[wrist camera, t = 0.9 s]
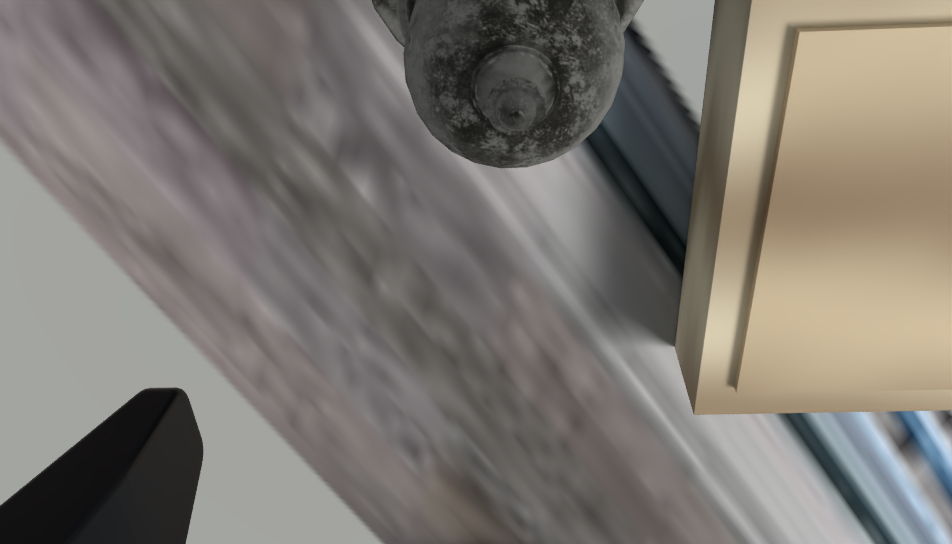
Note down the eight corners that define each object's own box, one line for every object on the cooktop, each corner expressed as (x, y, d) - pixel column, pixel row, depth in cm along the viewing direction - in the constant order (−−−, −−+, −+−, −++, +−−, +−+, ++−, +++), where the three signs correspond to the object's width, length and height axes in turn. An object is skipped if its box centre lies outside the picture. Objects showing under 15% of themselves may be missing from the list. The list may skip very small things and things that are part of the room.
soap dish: (1067, 339, 25) (1135, 413, 23) (675, 347, 26) (695, 420, 23) (1254, -75, 19) (1382, -40, 16) (721, -53, 19) (757, -16, 17)
